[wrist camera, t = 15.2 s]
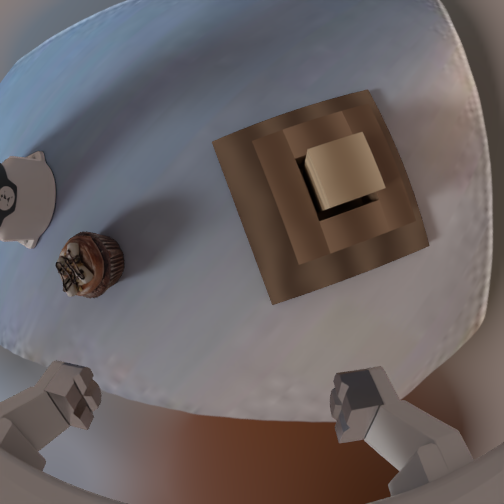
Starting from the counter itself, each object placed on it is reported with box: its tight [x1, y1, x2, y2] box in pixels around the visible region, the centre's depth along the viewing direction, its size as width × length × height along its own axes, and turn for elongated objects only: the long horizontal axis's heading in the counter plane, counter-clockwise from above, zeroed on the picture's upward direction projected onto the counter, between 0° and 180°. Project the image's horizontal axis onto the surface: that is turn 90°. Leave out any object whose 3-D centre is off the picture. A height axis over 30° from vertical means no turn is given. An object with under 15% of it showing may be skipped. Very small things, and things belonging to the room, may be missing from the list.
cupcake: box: [56, 232, 124, 298], centre depth 35 cm, size 10×10×10 cm
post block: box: [212, 90, 429, 305], centre depth 29 cm, size 22×22×10 cm
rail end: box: [303, 132, 386, 213], centre depth 24 cm, size 4×4×11 cm
